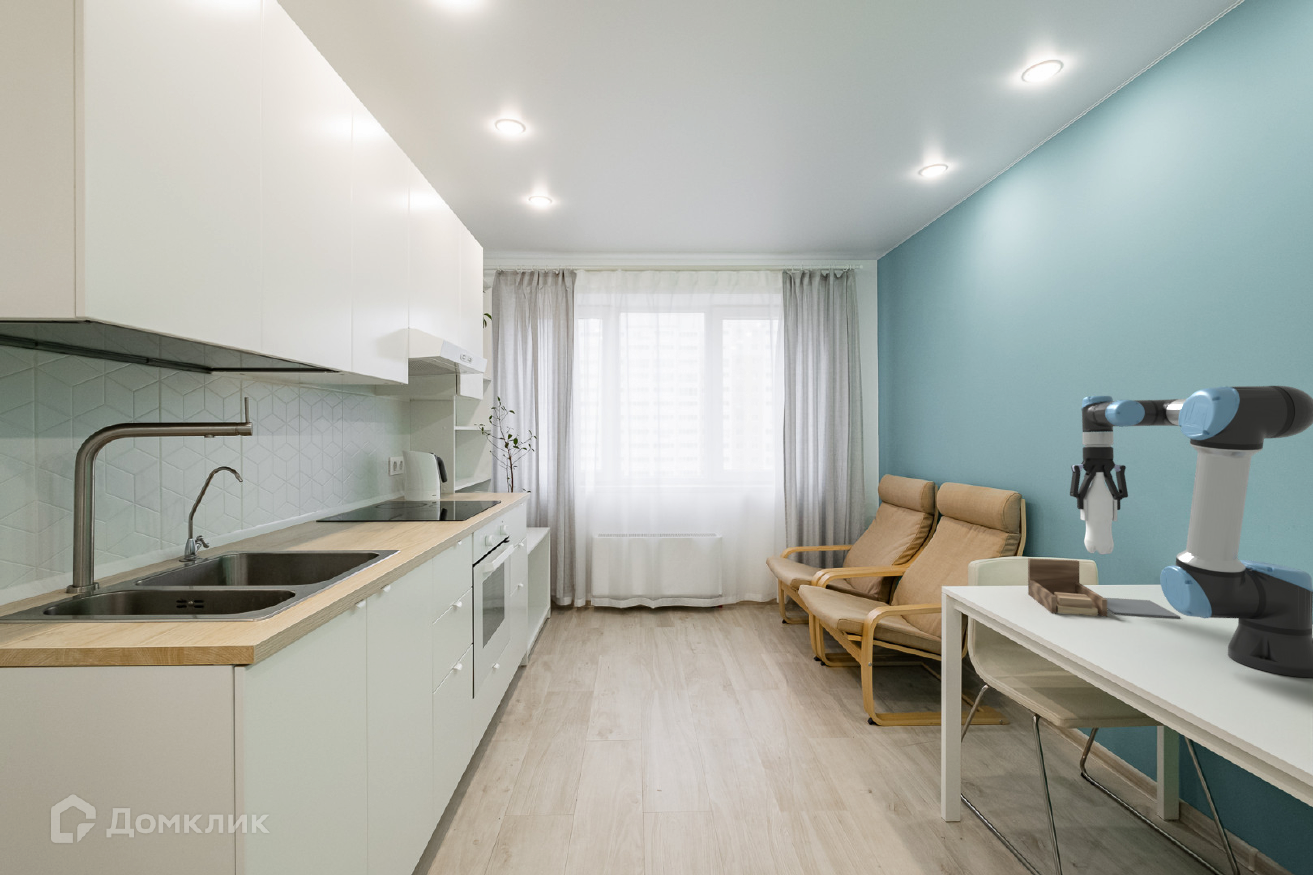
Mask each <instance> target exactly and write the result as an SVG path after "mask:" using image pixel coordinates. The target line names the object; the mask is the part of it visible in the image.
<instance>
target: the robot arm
mask: <svg viewBox="0 0 1313 875" xmlns="http://www.w3.org/2000/svg"><path fill="white" fill-rule="evenodd" d="M1081 404H1082V405H1081V425H1082V427H1081V429H1082V445H1083V447H1082V462H1081V463H1080V464H1071V466H1070V467H1071V471H1072V474H1071V475H1072V476H1071V481H1070V487H1069V488H1070V490H1069V496H1070V497H1073V498H1075V499H1076V508H1077V509H1078V510H1080V520H1082V521H1084V522H1086V521H1088V516H1087V499H1084V498H1085V495H1086V493H1087V491H1088V488H1089V487H1090V485H1091V482H1092V479H1093V478H1094V476H1096V472H1103V474H1104V477H1105V478H1104V479H1105V480H1104V482H1105V485H1106V487H1107V488H1108V490H1109V491H1110V493H1111V495H1112V497H1113V519H1112V522H1118V511H1120V510H1121V501H1122V500H1123V499H1125V498H1128V497H1129V494H1128V493H1129V492H1128V487H1127V482H1126V475H1125V472H1126V468H1127V467H1126V465H1124V464H1123V465H1122V464H1116V463H1115V461H1114V447H1112V446H1113V445H1114V427H1119V428H1120V427H1121V428H1123V427H1126V428H1127V427H1150V426H1151V427H1156V426H1157V427H1158V426H1160V427H1162V426H1163V427H1164V426H1165V427H1167V426H1168V427H1180V432H1181V433H1182V434H1183V435H1184V437H1186V438H1188V439H1190V440H1189V445H1190V446H1191V447H1192V448H1193V449H1194V450H1195V451H1197V458H1196V466H1195V474H1194V481H1193V490H1192V497H1191V498H1192V499H1191V507H1190V516H1189V521H1188V532H1187V539H1186V548H1185V550H1182V551H1180V552H1178V553H1177V554H1176V558H1175V564H1173V565H1169V566H1165V567H1164V568H1163V569H1161V573H1160V576H1159V577H1160V578H1159V580H1160V581H1159V582H1160V587H1161V591H1162V593H1163V595H1164V598H1166V600H1167V602H1168V604H1169V605H1170V606H1171V608H1173V609H1174V610H1175V611H1176V612H1178V613H1180V614H1181V615H1183V616H1187V617H1193V618H1194V617H1195V618H1202V619H1238V622H1237V623H1238V624H1237V627H1236V629H1235V630H1234V633H1233V635H1232V637H1231V639H1230V641H1229V643H1228V645H1227V655H1228V657H1229V658H1230V659H1231V660H1233V661H1235V662H1237V663H1239V664H1241V665H1244V666H1247V667H1250V668H1254V669H1256V670H1259V671H1264V672H1268V673H1273V674H1277V675H1284V676H1290V677H1297V678H1313V581H1312V580H1313V579H1312V576H1311V575H1310V574H1309V573H1308V572H1306V571H1304V570H1301V569H1297V568H1295V567H1291V566H1286V565H1283V564H1282V565H1281V564H1276V563H1270V562H1264V561H1258V560H1250V559H1238V557H1239V549H1240V544H1241V543H1240V542H1241V533H1242V528H1243V519H1244V512H1245V505H1246V498H1247V490H1248V484H1249V476H1250V471H1251V470H1250V469H1251V464H1252V463H1251V462H1252V461H1251V460H1252V457H1253V456H1254V455H1256V454H1257V453H1259V452H1261V451H1262V450H1263V447H1264V439H1280V438H1289V437H1291V436H1296V435H1298V434H1300V433H1303V432H1305V431H1306V430H1308V429H1309V428H1310V427H1311V426H1312V425H1313V397H1312V396H1311V395H1309V394H1308V393H1307V392H1305V391H1304V390H1301V389H1299V388H1295V387H1293V386H1292V387H1291V386H1286V385H1261V386H1260V385H1259V386H1258V385H1257V386H1255V385H1254V386H1250V385H1249V386H1248V385H1247V386H1243V385H1242V386H1241V385H1240V386H1228V385H1226V386H1215V387H1205V388H1202V389H1198V390H1197V391H1194V392H1193V393H1192V394H1191V395H1190V396H1188V397H1187V398H1175V399H1174V398H1173V399H1141V400H1140V399H1137V400H1135V399H1133V400H1132V399H1118V400H1113V397H1112V396H1110V395H1092V396H1091V395H1090V396H1085V397H1083V399H1082V403H1081ZM1113 469H1114V472H1115V476H1116V477H1115V478H1116V483H1117V485H1116V483H1115V481H1114V479H1113V475H1112V471H1113ZM1082 470H1084V472H1085V473H1084V475H1083V479H1082V482H1081V484H1080V480H1081V472H1082Z"/></svg>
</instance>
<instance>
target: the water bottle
mask: <svg viewBox="0 0 1313 875" xmlns="http://www.w3.org/2000/svg"><path fill="white" fill-rule="evenodd" d="M1104 478H1105V477H1104V474H1103V472H1096V476H1094V478H1093V479H1092V481H1091V484H1090V486H1089V488H1088V491H1087V493H1086V495H1085V498H1084V499H1087V516H1088V521H1085V535H1084V540H1083V542H1084V543H1083V544H1084V546H1085V548H1086V551H1087V552H1088V553H1090V554H1095V552H1098V554H1099V555H1107V554H1108V555H1110V554H1112V552H1113V551H1114V546H1115V542H1114V539H1113V532H1112V528H1113V527H1112V524H1113V521H1112V519H1113V497H1112V495H1111V493H1110V491H1109V489H1108V486H1107V484H1106V482H1105V479H1104Z"/></svg>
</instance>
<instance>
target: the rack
mask: <svg viewBox="0 0 1313 875" xmlns="http://www.w3.org/2000/svg"><path fill="white" fill-rule="evenodd" d="M1027 569H1028V570H1027V580H1028V581H1027V582H1028V584H1027V586H1028V587H1027V588H1028V592H1027V594H1028V595H1029V596H1030V597H1031V598H1033V600H1035V601H1036V602H1038V604H1040V605H1041V606H1042V607H1043V608H1045V609H1046V610H1047V611H1048V612H1049V613H1051V614H1057V612H1056V596H1054V592H1059V593H1071V594H1084V595H1087V596H1088V597H1089V598H1090V599H1091V600H1092V606H1094V607H1095V608H1097V609H1098V615H1099V614H1100V615H1099V616H1100V617H1103V616H1107V617H1108V610H1107V599H1105V598H1106V597H1104V596H1102V595H1100V594H1098V593H1097V592H1095V591H1093V590H1092V589H1091V588H1088V587H1087V586H1085V585H1084V584H1082V583H1080V560H1077V559H1076V560H1074V559H1073V560H1072V559H1052V558H1051V559H1050V558H1033V557H1032V558H1030V557H1028V559H1027Z"/></svg>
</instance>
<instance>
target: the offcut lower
mask: <svg viewBox="0 0 1313 875" xmlns="http://www.w3.org/2000/svg"><path fill="white" fill-rule="evenodd" d="M1056 614H1067V615H1079V614H1084V615H1083V616H1094V615H1097V616H1098V615H1099V614H1098V609H1097V608H1095V607H1094V606H1092V609H1090V608H1078V607H1067V606H1059V605H1058V604H1057V603H1056ZM1097 616H1096V617H1097Z"/></svg>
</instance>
